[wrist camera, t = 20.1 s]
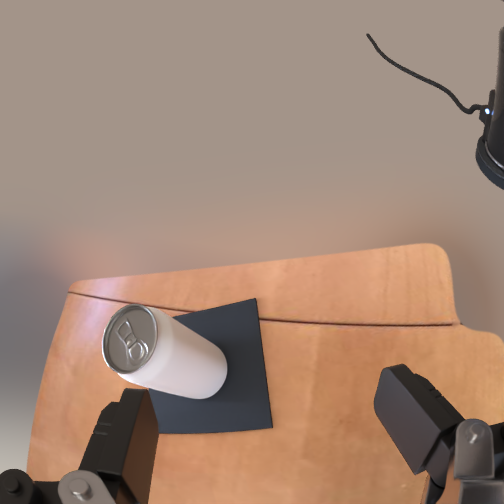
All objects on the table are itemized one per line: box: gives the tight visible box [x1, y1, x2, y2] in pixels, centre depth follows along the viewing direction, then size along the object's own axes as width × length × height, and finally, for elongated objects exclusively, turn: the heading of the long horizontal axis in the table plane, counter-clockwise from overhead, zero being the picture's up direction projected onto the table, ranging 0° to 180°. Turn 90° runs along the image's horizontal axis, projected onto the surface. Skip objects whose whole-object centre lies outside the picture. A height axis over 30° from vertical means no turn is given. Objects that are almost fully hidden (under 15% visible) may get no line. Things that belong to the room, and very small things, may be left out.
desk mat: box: [149, 298, 273, 434], centre depth 30 cm, size 14×14×1 cm
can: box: [102, 304, 227, 399], centre depth 25 cm, size 6×6×12 cm
